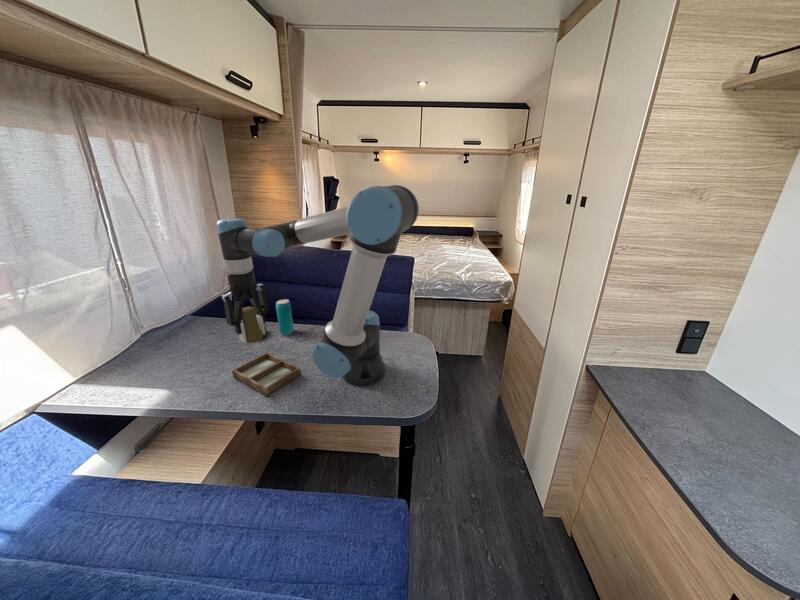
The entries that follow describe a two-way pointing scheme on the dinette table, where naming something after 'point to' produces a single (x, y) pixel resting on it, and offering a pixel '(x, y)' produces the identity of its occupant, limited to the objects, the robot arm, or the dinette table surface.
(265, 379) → the tray
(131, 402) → the dinette table surface
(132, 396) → the dinette table surface
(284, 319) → the beverage can
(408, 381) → the dinette table surface
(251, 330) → the olive rounded lobed piece
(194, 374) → the dinette table surface
